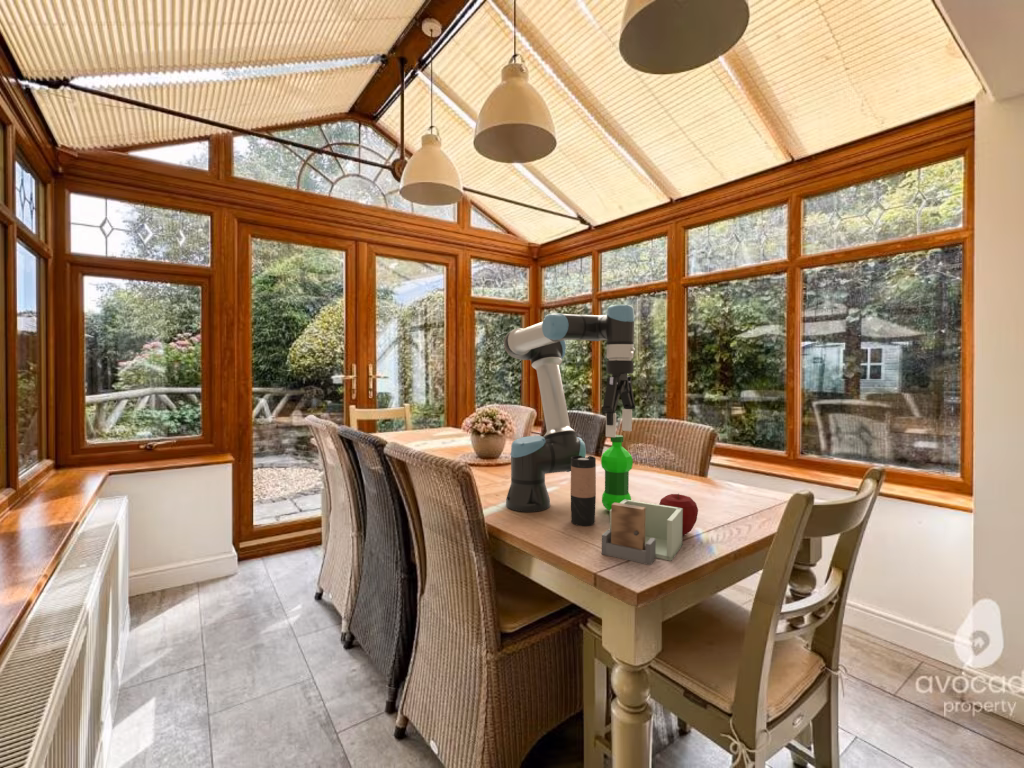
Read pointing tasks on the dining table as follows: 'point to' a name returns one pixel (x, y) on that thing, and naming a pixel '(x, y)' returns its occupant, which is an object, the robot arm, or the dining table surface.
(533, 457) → the robot arm
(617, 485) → the plastic bottle
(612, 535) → the door panel
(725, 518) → the dining table surface
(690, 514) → the apple
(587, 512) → the travel mug
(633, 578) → the dining table surface
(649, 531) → the cabinet
